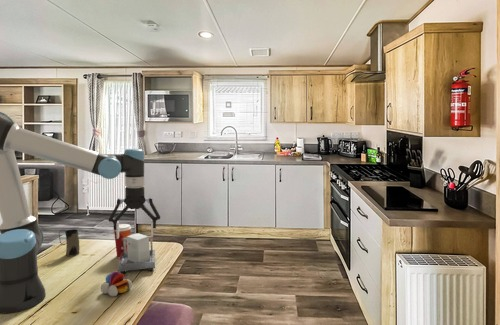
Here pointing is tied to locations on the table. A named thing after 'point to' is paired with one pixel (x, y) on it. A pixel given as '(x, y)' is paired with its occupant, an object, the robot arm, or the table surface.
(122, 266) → the grey storage bin
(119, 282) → the rainbow segmented toy
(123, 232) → the paper cup
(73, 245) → the mug
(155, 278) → the table surface
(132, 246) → the small box
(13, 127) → the robot arm
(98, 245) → the table surface
